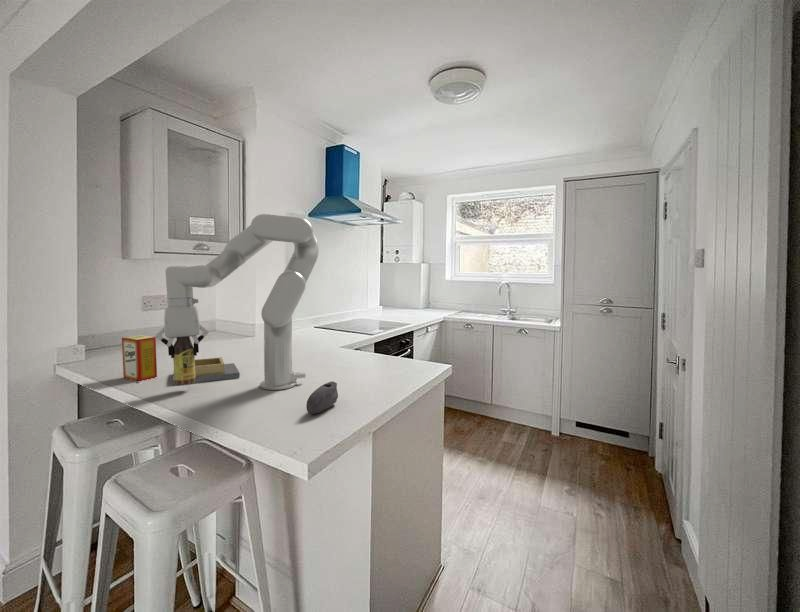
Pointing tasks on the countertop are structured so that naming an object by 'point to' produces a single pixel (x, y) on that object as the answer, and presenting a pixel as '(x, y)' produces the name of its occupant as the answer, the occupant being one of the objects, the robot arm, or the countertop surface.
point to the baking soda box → (139, 357)
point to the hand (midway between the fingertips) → (184, 355)
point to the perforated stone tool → (322, 398)
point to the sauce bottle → (184, 361)
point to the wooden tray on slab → (213, 370)
